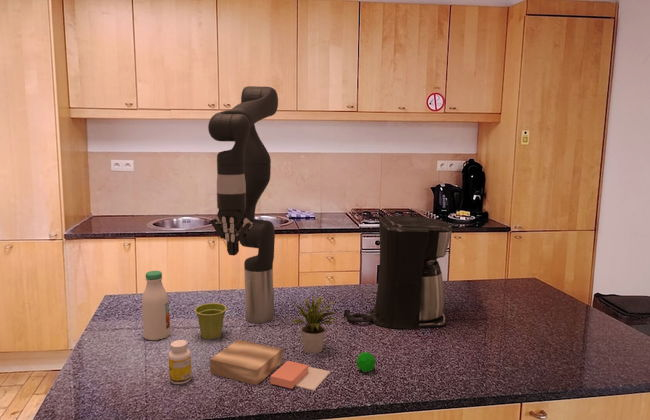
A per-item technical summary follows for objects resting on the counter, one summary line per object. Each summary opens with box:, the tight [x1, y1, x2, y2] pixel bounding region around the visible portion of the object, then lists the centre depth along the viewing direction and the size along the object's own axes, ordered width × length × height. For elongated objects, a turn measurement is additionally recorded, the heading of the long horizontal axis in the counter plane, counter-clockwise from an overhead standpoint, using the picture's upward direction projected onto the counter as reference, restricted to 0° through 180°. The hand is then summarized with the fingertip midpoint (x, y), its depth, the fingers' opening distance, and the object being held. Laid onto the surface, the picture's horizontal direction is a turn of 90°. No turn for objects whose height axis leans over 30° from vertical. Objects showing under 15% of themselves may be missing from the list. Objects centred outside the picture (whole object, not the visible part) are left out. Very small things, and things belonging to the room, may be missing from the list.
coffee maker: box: [343, 215, 454, 330], centre depth 163 cm, size 23×32×34 cm
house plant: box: [292, 294, 340, 354], centre depth 142 cm, size 14×14×16 cm
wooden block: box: [209, 339, 283, 386], centre depth 133 cm, size 13×14×4 cm
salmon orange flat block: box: [269, 360, 309, 390], centre depth 127 cm, size 9×6×2 cm, turn 156°
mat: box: [294, 366, 331, 391], centre depth 129 cm, size 10×12×1 cm
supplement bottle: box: [168, 339, 193, 385], centre depth 126 cm, size 5×5×10 cm
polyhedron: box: [355, 351, 376, 373], centre depth 132 cm, size 5×5×5 cm
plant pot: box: [194, 302, 227, 340], centre depth 152 cm, size 9×9×9 cm
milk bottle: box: [141, 270, 171, 341], centre depth 151 cm, size 8×8×20 cm
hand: (232, 254), depth 135 cm, fingers closed
